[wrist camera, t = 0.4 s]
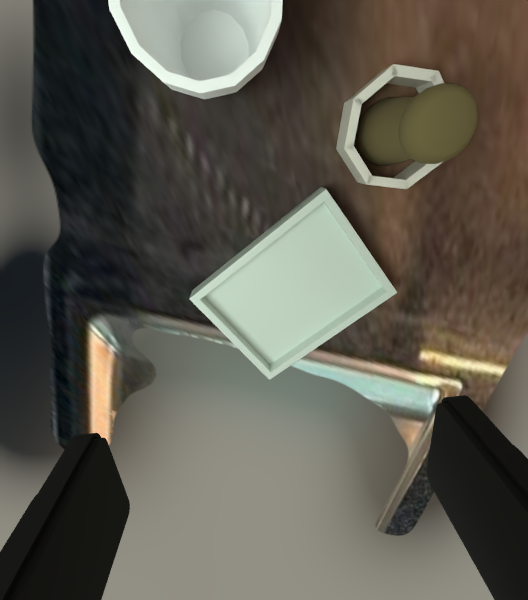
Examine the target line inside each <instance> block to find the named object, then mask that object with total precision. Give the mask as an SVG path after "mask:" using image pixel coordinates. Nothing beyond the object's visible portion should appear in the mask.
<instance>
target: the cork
mask: <svg viewBox="0 0 528 600" xmlns="http://www.w3.org/2000/svg"><path fill="white" fill-rule="evenodd" d="M477 122H478V108H477V105H476V102H475V99H474V97H473V96H472V95H471V93H470V92H469V91H468V90H467V89H466V88H464V87H462V86H459V85H457V84H449V83H441V84H438V85H435V86H431V87H429V88H426V89H425V90H423V91H422V92H421V93H419V94H418V95H416V96H415V97H388V98H385V99H382V100H379V101H377V102H376V103H374V104H373V105H372V106H370V107H369V109H368V110H367V111H366V112H365V114H364V115H363V117H362V119H361V121H360V124H359V126H358V134H357V140H358V146H359V149H360V151H361V153H362V155H363V156H364V157H365V158H366V159H367V160H368V161H369V162H371V163H373V164H375V165H379V166H388V165H392V164H395V163H399V162H403V161H406V160H410V159H413V160H415V161H417V162H420V163H424V164H437V163H441V162H444V161H447V160H449V159H451V158H453V157H454V156H456V155H457V154H459V153H460V152H461V151H462V150H463V149H464V148H465V147H466V146H467V145H468V143H469V142H470V140H471V138H472V136H473V134H474V132H475V130H476V126H477Z"/></svg>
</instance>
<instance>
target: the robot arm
mask: <svg viewBox="0 0 528 600" xmlns="http://www.w3.org/2000/svg"><path fill="white" fill-rule="evenodd" d="M427 477H428V480H429V483H430V485H431V486H432V488H433V490H434V492H435V494H436V495H437V497H438V499H439V501H440V503H441V504H442V506H443V508H444V510H445V511H446V513H447V515H448V517H449V519H450V521H451V522H452V524H453V526H454V528H455V530H456V531H457V533H458V535H459V537H460V539H461V540H462V542H463V544H464V546H465V547H466V549H467V551H468V553H469V555H470V556H471V558H472V560H473V562H474V564H475V565H476V567H477V569H478V570H479V573H480V574H481V576H482V578H483V580H484V582H485V583H486V585H487V587H488V589H489V590H490V592H491V594H492V596H493V598H494V599H495V600H528V459H527V458H526V457H525V456H524V455H523V453H522V452H521V451H520V450H519V449H518V448H516V447H515V446H514V445H512V444H511V442H510V441H509V440H508V439H507V438H506V437H505V436H504V435H503V434H502V433H501V432H500V431H499V429H498V428H497V427H495V425H494V424H493V423H492V422H491V421H490V419H489V418H488V417H487V416H486V415H485V414H484V413H483V412H482V411H481V410H480V409H479V407H478V406H477V405H476V404H475V403H474V402H473V401H472V400H471V399H470V398H469V397H468V396H465V395H464V396H455V397H445V398H443V399H442V402H441V403H439V404H438V405H437V407H436V413H435V419H434V426H433V432H432V439H431V445H430V451H429V458H428V464H427ZM129 506H130V504H129V499H128V497H127V494H126V491H125V488H124V486H123V483H122V480H121V478H120V475H119V472H118V470H117V467H116V464H115V461H114V459H113V456H112V453H111V451H110V448H109V445H108V442H107V440H106V439H105V438H101V436H100V435H99V434H98V433H92V434H82V435H75V436H74V437H73V438H72V439H71V440H70V442H69V444H68V445H67V447H66V449H65V450H64V452H63V454H62V455H61V457H60V459H59V460H58V462H57V463H56V465H55V467H54V468H53V470H52V472H51V473H50V475H49V476H48V478H47V480H46V481H45V483H44V485H43V486H42V488H41V489H40V491H39V493H38V494H37V495H36V496H35V497H34V499H33V500H32V502H31V503H30V505H29V506H28V508H27V510H26V511H25V513H24V514H23V516H22V518H21V519H20V521H19V523H18V524H17V526H16V528H15V529H14V531H13V532H12V534H11V536H10V537H9V539H8V540H7V542H6V544H5V545H4V547H3V549H2V550H1V552H0V600H101V598H102V595H103V592H104V589H105V586H106V583H107V580H108V577H109V574H110V571H111V568H112V564H113V561H114V558H115V555H116V552H117V549H118V546H119V543H120V540H121V537H122V534H123V531H124V528H125V524H126V521H127V518H128V515H129V509H130V507H129Z"/></svg>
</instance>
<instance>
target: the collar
mask: <svg viewBox="0 0 528 600" xmlns="http://www.w3.org/2000/svg"><path fill="white" fill-rule="evenodd" d="M386 83H387V84H393V85H400V86H407V87H414V88H416V89H417V91H418V93H421V92H422V91H423V90H425V89H426V88H429V87H431V86H435V85H438V84H441V83H444V81H443V79H442V77H441V75H440V73H439V71H435V70H429V69H422V68H416V67H409V66H403V65H396V64H393V65H391V66H389V67H388V68H386V69H385V70H383V71H381V72H380V73H379V74H378V75H376V76H375V77H374V78H373V79H372V80H371V81H369V82H368V83H367V84H366V85H365V86H364V87H362V88H361V89H360V90H359V91H358V92H357V93H355V94H354V95H353V96H352V97H351V98H350V99H348V100H347V101H346V102H345V103H344V108H343V113H342V119H341V124H340V130H339V136H338V141H337V147H336V150H337V151H338V153H339V154H340V156H341V157H342V159H343V160H344V162H345V164H346V165H347V167H348V168H349V170H350V171H351V173H352V175H353V176H354V178H355V179H356V181H357V182H359V183H363V184H367V185H376V186H384V187H393V188H401V189H408V188H409V187H410V186H412V185H413V184H414V183H416V182H417V181H418V180H420V179H421V178H422V177H424V176H425V175H426V174H428V173H429V172H430V171H432V170H433V169H434V168H436V167H437V166H438V165H440V164H441V163H442V162H441V163H437V164H424V163H420V162H417V161H415V162H413V163H412V164H411V165H409V166H408V167H407V168H405V169H404V170H403V171H402V172H400V173H399V174H398V175H396V176H395V177H394V178H390V177H382V176H373V175H371V173H370V171H369V170H368V168H367V167H366V165H365V163H364V162H363V160H362V158H361V157H360V155H359V154H358V152H357V150H356V149H355V147H354V141H355V136H356V131H357V126H358V121H359V116H360V111H361V106H362V103H363V102H365V101H366V100H367V99H368V98H369V97H370V96H372V95H373V94H374V93H375V92H376V91H378V90H379V89H380V88H381V87H382V86H384V85H385V84H386Z"/></svg>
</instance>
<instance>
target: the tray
mask: <svg viewBox="0 0 528 600" xmlns="http://www.w3.org/2000/svg"><path fill="white" fill-rule="evenodd" d="M396 293H397V292H396V290H395V289H394V287H393V286H392V284H391V283H390V281H389V280H388V278H387V277H386V275H385V274H384V273H383V271H382V270H381V268H380V267H379V265H378V264H377V262H376V261H375V259H374V258H373V256H372V255H371V254H370V252H369V251H368V249H367V248H366V246H365V245H364V243H363V242H362V240H361V239H360V237H359V236H358V235H357V233H356V232H355V230H354V229H353V227H352V226H351V224H350V223H349V221H348V220H347V218H346V217H345V216H344V214H343V213H342V211H341V210H340V208H339V207H338V205H337V204H336V202H335V201H334V199H333V198H332V197H331V195H330V194H329V192H328V191H327V189H325V188H323V187H320V188H319V189H317V190H316V191H315V192H314V193H313V194H311V195H310V196H309V197H308V198H306V199H305V200H304V201H303V202H301V203H300V204H299V205H298V206H296V207H295V208H294V209H293V210H291V211H290V212H289V213H288V214H286V215H285V216H284V217H283V218H282V219H280V220H279V221H278V222H277V223H275V224H274V225H273V226H272V227H270V228H269V229H268V230H267V231H265V232H264V233H263V234H262V235H260V236H259V237H258V238H257V239H255V240H254V241H253V242H252V243H251V244H249V245H248V246H247V247H246V248H244V249H243V250H242V251H241V252H239V253H238V254H237V255H236V256H234V257H233V258H232V259H231V260H229V261H228V262H227V263H226V264H224V265H223V266H222V267H221V268H220V269H218V270H217V271H216V272H215V273H213V274H212V275H211V276H210V277H208V278H207V279H206V280H205V281H203V282H202V283H201V284H200V285H198V286H197V287H196V288H195V289H193V291H192V293H191V296H190V298H189V299H190V300H191V301H192V302H193V303H194V304H195V305H196V306H197V307H198V308H199V309H200V310H201V311H202V312H203V313H204V314H205V315H206V316H207V317H208V318H209V319H210V320H211V321H212V322H213V323H214V324H215V325H216V326H217V327H218V328H219V329H220V330H221V331H222V332H223V333H224V334H225V335H226V336H227V337H228V338H229V339H230V340H231V342H232V343H233V344H234V345H235V346H236V347H237V348H238V349H239V350H240V351H242V353H243V354H244V355H245V356H246V357H247V358H248V359H249V360H250V361H251V362H252V363H253V364H254V365H255V366H256V367H257V368H258V369H259V370H260V371H261V372H262V373H263V374H264V375H265V376H266V377H267V378H268V379H271V378H273V377H274V376H276V375H277V374H279V373H280V372H281V371H283V370H284V369H286V368H287V367H289V366H290V365H292V364H293V363H295V362H296V361H298V360H299V359H301V358H302V357H303V356H305V355H306V354H308V353H309V352H311V351H312V350H314V349H315V348H317V347H318V346H320V345H321V344H323V343H324V342H325V341H327V340H328V339H330V338H331V337H333V336H334V335H336V334H337V333H339V332H340V331H342V330H343V329H344V328H346V327H347V326H349V325H350V324H352V323H353V322H355V321H356V320H358V319H359V318H361V317H362V316H364V315H365V314H366V313H368V312H369V311H371V310H372V309H374V308H375V307H377V306H378V305H380V304H381V303H383V302H384V301H386V300H387V299H388V298H390V297H391V296H393V295H394V294H396Z"/></svg>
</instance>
